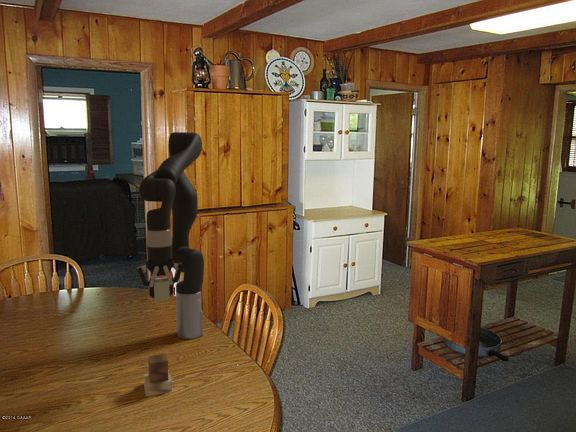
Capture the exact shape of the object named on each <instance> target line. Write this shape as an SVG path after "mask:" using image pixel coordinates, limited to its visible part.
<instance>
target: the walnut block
mask: <svg viewBox="0 0 576 432" xmlns="http://www.w3.org/2000/svg"><path fill="white" fill-rule="evenodd" d="M147 358H148V359H147V360H148V374H149V378H150V383H155V382H161V381H167V380H168V371H169V360H168V355H167V354H166V353H160V354H155V355H154V354H153V355H148V357H147Z"/></svg>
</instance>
